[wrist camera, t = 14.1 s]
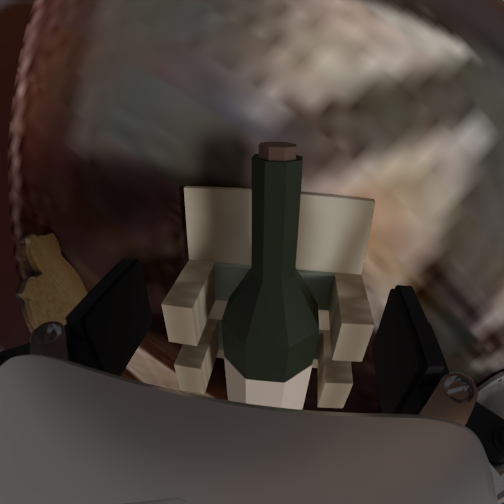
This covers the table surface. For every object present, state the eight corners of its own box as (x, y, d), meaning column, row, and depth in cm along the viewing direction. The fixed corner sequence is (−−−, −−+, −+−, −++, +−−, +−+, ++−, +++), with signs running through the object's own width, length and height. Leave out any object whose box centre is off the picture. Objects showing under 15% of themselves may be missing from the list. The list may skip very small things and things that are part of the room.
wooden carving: (35, 226, 31) (-20, 267, 22) (56, 215, 30) (-4, 258, 21) (96, 332, 38) (60, 384, 29) (119, 330, 37) (83, 386, 28)
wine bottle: (279, 459, 28) (319, 163, 14) (216, 427, 32) (183, 149, 18) (311, 406, 34) (356, 145, 20) (252, 382, 38) (254, 134, 24)
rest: (373, 199, 24) (398, 238, 18) (335, 365, 34) (338, 418, 27) (186, 185, 26) (148, 218, 20) (201, 351, 36) (183, 400, 29)
